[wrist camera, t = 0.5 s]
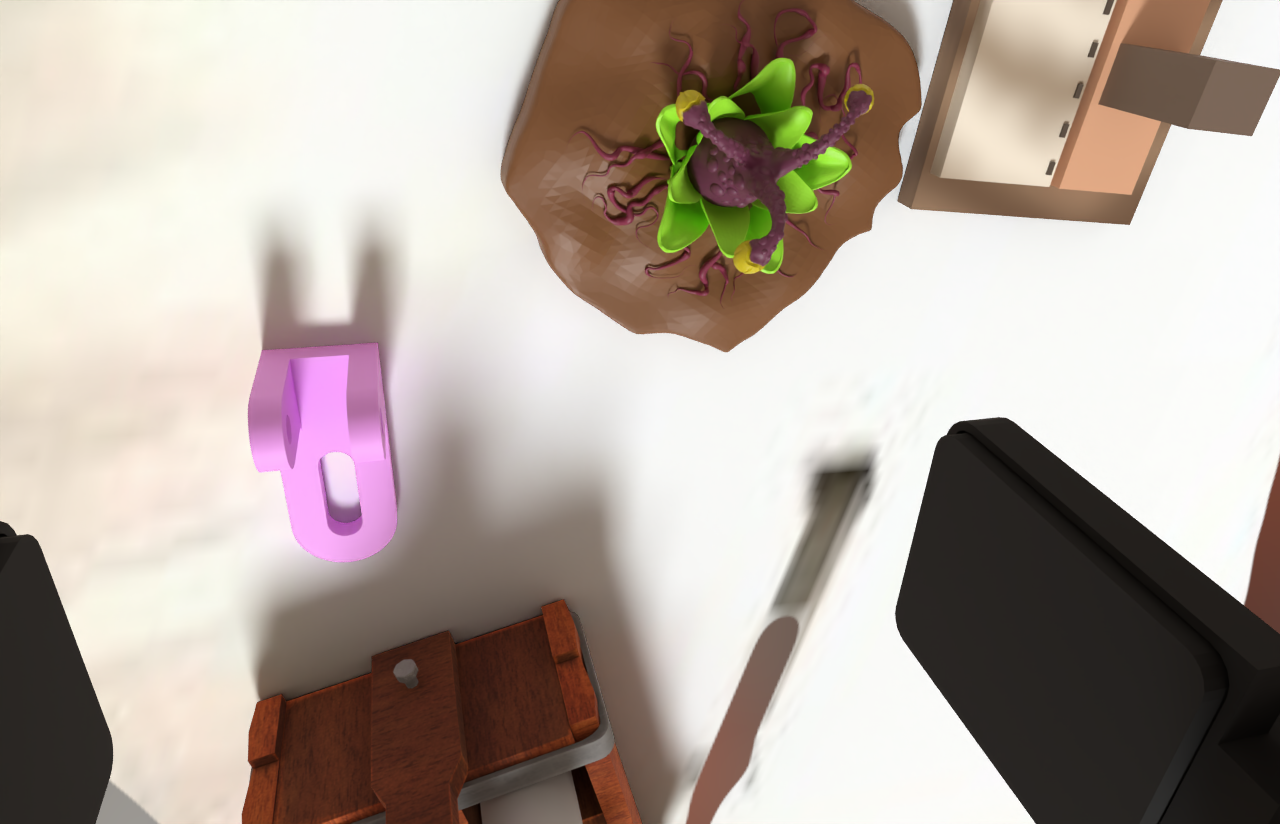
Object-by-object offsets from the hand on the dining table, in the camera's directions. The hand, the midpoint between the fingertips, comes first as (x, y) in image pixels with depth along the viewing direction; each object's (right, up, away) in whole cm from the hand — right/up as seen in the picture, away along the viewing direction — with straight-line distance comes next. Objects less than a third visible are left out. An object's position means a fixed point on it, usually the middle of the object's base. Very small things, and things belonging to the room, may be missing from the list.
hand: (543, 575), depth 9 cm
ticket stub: (+27, +20, +37) cm, 50 cm away
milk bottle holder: (-11, -26, +54) cm, 61 cm away
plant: (+4, +15, +35) cm, 39 cm away
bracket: (-16, 0, +38) cm, 41 cm away
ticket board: (+24, +21, +37) cm, 49 cm away
